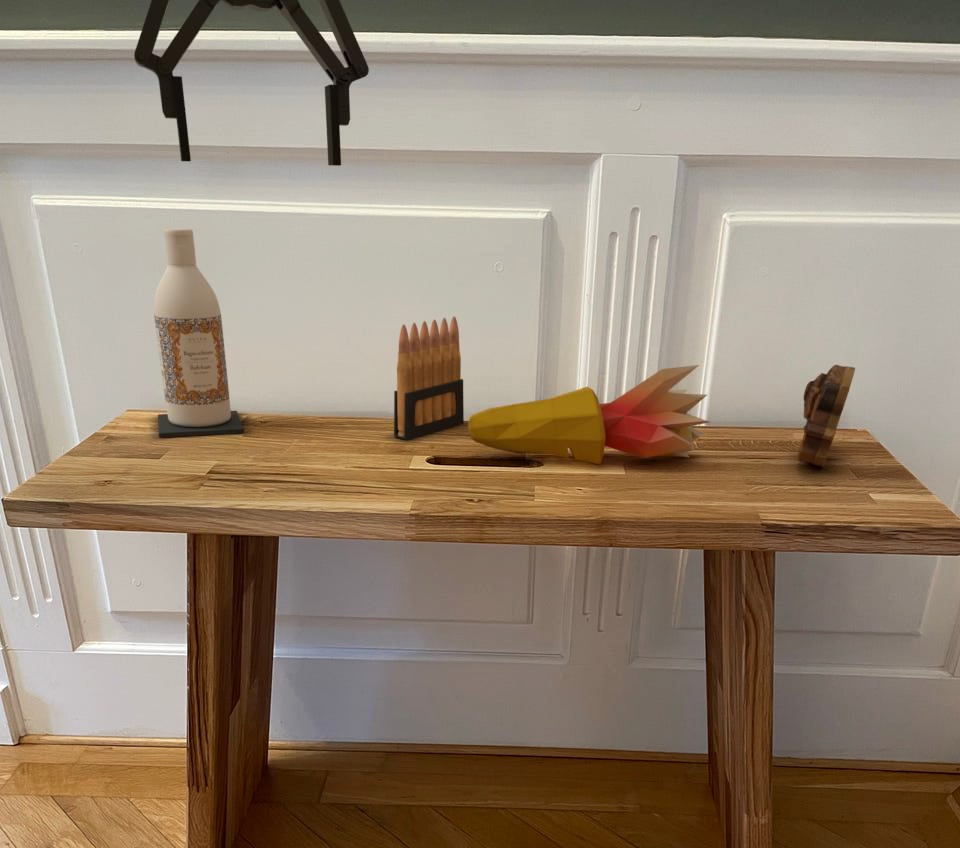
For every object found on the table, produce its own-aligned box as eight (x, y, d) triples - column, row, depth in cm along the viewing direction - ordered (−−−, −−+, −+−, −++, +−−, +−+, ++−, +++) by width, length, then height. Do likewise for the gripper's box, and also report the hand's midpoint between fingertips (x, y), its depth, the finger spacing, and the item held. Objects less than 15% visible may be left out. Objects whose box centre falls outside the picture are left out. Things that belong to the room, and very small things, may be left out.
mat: (159, 437, 99) (158, 433, 98) (158, 418, 106) (157, 414, 106) (244, 432, 101) (243, 428, 101) (237, 414, 109) (236, 410, 109)
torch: (474, 488, 97) (707, 460, 97) (474, 473, 89) (727, 442, 89) (465, 412, 97) (697, 383, 97) (464, 390, 89) (716, 359, 89)
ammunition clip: (406, 440, 100) (404, 326, 94) (393, 437, 101) (391, 324, 95) (464, 422, 108) (465, 316, 102) (451, 420, 109) (452, 314, 103)
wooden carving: (792, 441, 103) (809, 350, 99) (834, 445, 102) (853, 353, 98) (790, 481, 89) (809, 377, 85) (839, 486, 88) (861, 381, 84)
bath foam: (174, 430, 99) (148, 230, 90) (163, 417, 105) (137, 227, 96) (238, 425, 102) (219, 230, 93) (223, 412, 108) (204, 227, 99)
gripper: (74, -161, 68) (118, 158, 78) (397, -121, 75) (402, 167, 85) (80, -133, 75) (120, 159, 84) (378, -99, 82) (384, 167, 91)
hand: (262, 164), depth 85 cm, fingers open, 13 cm apart
